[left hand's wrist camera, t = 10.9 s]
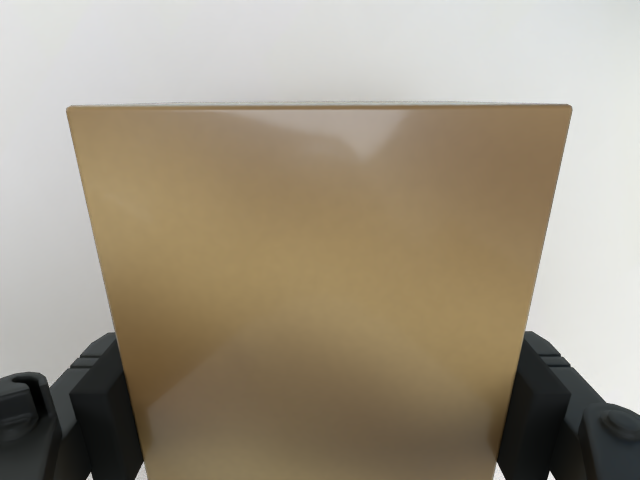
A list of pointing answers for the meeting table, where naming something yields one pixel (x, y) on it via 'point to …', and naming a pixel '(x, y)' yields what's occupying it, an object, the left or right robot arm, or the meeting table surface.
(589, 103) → the meeting table surface
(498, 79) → the meeting table surface
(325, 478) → the wide beam
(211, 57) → the meeting table surface
